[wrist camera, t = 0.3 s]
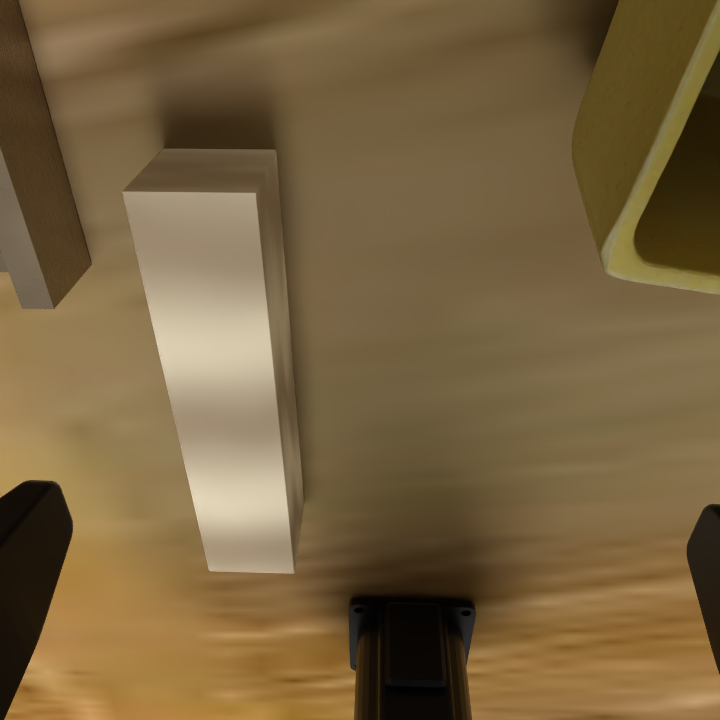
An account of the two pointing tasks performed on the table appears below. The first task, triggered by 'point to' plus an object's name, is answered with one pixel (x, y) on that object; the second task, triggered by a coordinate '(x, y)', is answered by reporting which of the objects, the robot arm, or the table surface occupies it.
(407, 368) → the table surface
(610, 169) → the flower pot
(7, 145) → the bracket
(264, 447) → the rail
